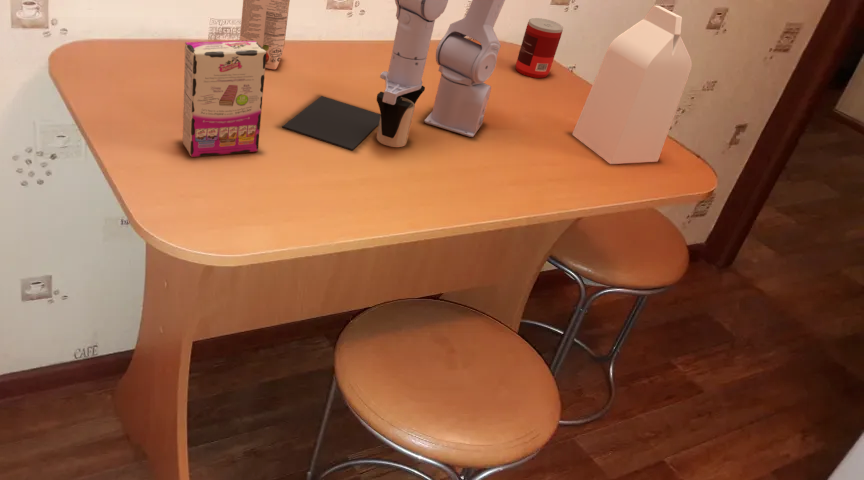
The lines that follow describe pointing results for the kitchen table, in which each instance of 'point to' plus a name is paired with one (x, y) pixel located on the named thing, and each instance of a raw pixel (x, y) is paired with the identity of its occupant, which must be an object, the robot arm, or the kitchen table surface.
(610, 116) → the milk
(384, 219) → the kitchen table surface
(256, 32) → the juice carton
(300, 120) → the placemat
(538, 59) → the canned food
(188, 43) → the candy bar box
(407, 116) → the cream cup
